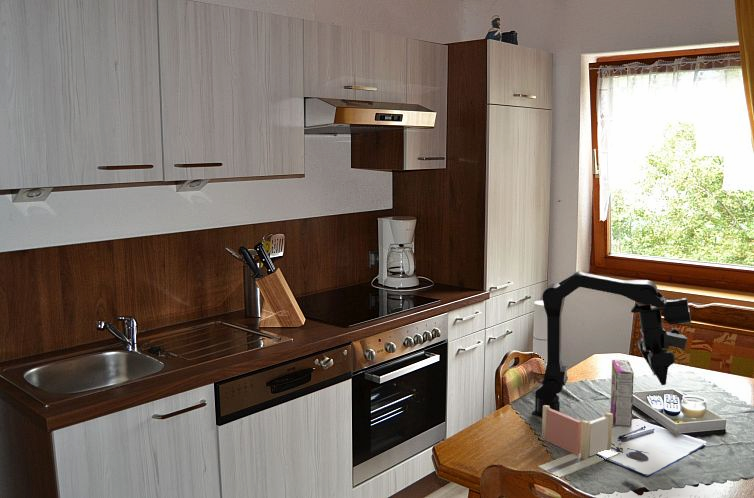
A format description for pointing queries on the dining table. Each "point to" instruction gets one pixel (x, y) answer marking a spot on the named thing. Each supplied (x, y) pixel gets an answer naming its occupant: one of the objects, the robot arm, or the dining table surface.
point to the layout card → (569, 464)
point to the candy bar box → (622, 392)
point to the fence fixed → (596, 435)
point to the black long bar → (540, 331)
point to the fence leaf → (561, 430)
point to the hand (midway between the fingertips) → (659, 379)
